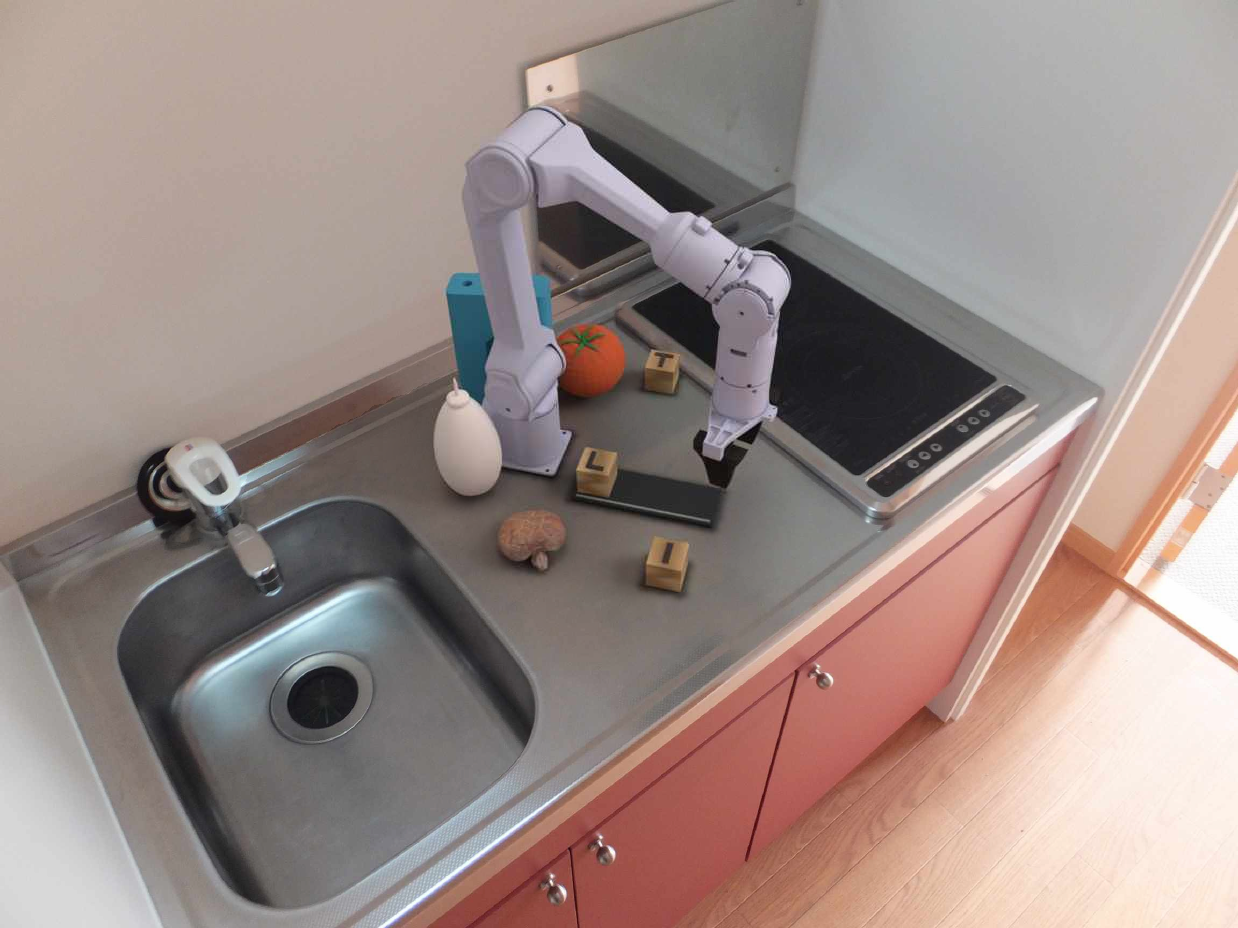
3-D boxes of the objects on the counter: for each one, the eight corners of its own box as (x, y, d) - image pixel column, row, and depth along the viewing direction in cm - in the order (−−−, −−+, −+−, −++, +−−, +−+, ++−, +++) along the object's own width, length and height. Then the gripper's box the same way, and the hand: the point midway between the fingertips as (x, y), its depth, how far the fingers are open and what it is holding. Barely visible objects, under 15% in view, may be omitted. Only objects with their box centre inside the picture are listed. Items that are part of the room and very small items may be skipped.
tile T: (644, 389, 121) (644, 366, 118) (651, 371, 124) (651, 348, 121) (672, 394, 120) (673, 371, 117) (678, 376, 123) (680, 352, 120)
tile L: (577, 491, 107) (575, 468, 104) (586, 469, 110) (585, 445, 107) (608, 498, 106) (608, 475, 103) (617, 474, 109) (617, 451, 106)
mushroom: (581, 565, 100) (567, 503, 104) (555, 551, 95) (542, 487, 99) (524, 587, 102) (513, 526, 106) (497, 574, 97) (486, 511, 101)
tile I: (645, 585, 98) (645, 562, 95) (653, 557, 101) (654, 535, 98) (680, 592, 98) (681, 570, 94) (687, 564, 100) (689, 542, 97)
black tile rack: (572, 500, 107) (571, 497, 107) (585, 466, 111) (585, 462, 111) (711, 528, 104) (712, 524, 103) (721, 491, 108) (721, 488, 107)
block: (558, 406, 119) (550, 276, 106) (553, 429, 115) (545, 297, 102) (471, 402, 120) (453, 272, 106) (464, 425, 116) (443, 293, 103)
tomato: (544, 403, 120) (530, 352, 112) (573, 351, 125) (561, 299, 117) (613, 418, 117) (603, 367, 109) (639, 364, 122) (632, 312, 114)
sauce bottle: (498, 458, 112) (481, 349, 99) (513, 502, 107) (496, 392, 94) (438, 473, 110) (412, 363, 97) (450, 518, 105) (424, 408, 92)
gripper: (754, 426, 83) (740, 518, 93) (804, 340, 92) (787, 432, 102) (686, 403, 85) (680, 495, 95) (742, 322, 94) (731, 413, 104)
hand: (732, 461), depth 99 cm, fingers open, 7 cm apart
